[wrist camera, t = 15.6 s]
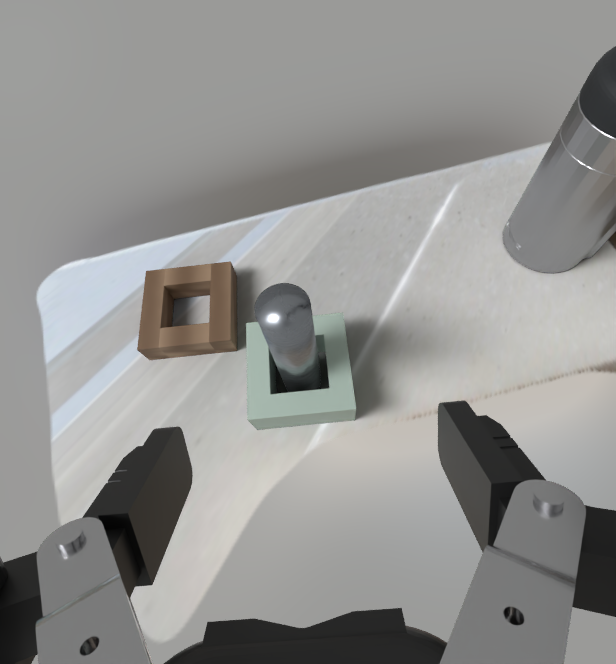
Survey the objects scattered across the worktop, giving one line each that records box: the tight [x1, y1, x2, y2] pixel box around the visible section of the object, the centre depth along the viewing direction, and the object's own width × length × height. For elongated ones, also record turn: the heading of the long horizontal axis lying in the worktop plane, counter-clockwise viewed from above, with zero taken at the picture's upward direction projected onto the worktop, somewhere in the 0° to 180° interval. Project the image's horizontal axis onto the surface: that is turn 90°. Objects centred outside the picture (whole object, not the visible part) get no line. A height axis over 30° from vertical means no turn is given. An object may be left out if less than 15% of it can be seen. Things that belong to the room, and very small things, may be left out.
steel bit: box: [255, 283, 321, 392], centre depth 35 cm, size 4×4×16 cm
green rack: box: [246, 313, 356, 430], centre depth 41 cm, size 10×10×4 cm
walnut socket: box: [137, 262, 237, 360], centre depth 46 cm, size 10×10×3 cm
